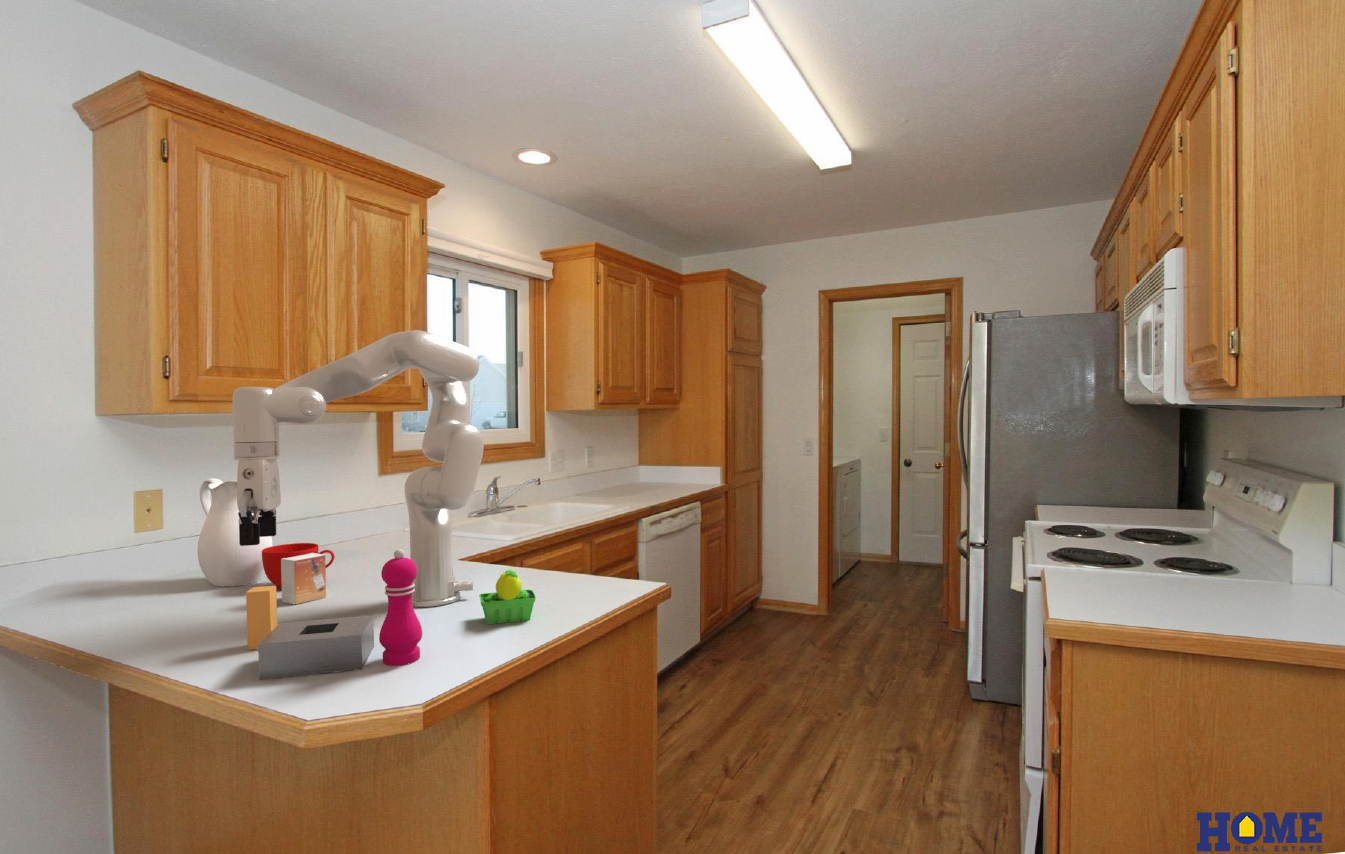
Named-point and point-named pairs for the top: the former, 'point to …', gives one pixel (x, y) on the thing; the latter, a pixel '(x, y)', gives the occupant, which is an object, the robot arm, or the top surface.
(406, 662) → the pepper mill
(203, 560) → the pitcher
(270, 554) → the ceramic cup
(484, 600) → the fruit basket
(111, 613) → the top surface
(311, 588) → the small box
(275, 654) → the socket block
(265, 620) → the wedge peg
